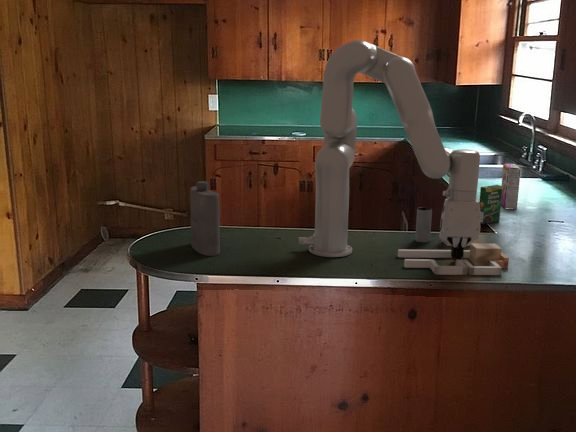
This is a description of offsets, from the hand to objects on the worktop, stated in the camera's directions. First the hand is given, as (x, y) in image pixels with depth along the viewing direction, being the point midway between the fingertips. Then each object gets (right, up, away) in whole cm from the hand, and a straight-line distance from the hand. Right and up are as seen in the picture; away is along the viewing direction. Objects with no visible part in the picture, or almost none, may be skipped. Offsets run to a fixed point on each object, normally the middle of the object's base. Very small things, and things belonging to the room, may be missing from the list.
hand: (456, 259), depth 172 cm
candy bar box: (+40, +16, +73) cm, 85 cm away
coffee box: (+24, +10, +47) cm, 53 cm away
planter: (-5, +4, +22) cm, 22 cm away
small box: (+5, +3, +19) cm, 20 cm away
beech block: (+8, -1, 0) cm, 8 cm away
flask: (-72, +2, +9) cm, 72 cm away
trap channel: (-2, -1, -3) cm, 3 cm away
